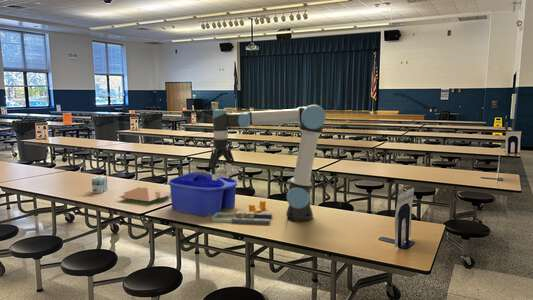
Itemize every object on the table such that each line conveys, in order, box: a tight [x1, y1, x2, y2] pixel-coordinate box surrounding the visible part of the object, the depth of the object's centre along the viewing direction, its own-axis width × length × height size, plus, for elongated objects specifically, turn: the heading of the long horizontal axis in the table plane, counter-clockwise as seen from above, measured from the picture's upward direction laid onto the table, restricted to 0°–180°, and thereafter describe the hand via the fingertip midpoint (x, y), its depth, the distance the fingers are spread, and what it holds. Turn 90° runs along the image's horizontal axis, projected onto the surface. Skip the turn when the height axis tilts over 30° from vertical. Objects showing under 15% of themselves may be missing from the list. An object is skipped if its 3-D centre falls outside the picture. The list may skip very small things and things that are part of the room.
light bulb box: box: [91, 175, 108, 194], centre depth 270 cm, size 11×7×11 cm, turn 179°
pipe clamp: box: [248, 200, 267, 213], centre depth 220 cm, size 12×4×6 cm, turn 141°
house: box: [118, 187, 171, 206], centre depth 251 cm, size 23×33×8 cm
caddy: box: [168, 170, 238, 217], centre depth 230 cm, size 32×45×23 cm
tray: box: [210, 211, 237, 223], centre depth 207 cm, size 12×12×3 cm
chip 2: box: [245, 210, 254, 218], centre depth 204 cm, size 4×4×4 cm
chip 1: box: [236, 210, 246, 218], centre depth 205 cm, size 4×4×4 cm
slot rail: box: [231, 211, 273, 226], centre depth 204 cm, size 20×13×4 cm, turn 82°
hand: (222, 177), depth 202 cm, fingers open, 13 cm apart
